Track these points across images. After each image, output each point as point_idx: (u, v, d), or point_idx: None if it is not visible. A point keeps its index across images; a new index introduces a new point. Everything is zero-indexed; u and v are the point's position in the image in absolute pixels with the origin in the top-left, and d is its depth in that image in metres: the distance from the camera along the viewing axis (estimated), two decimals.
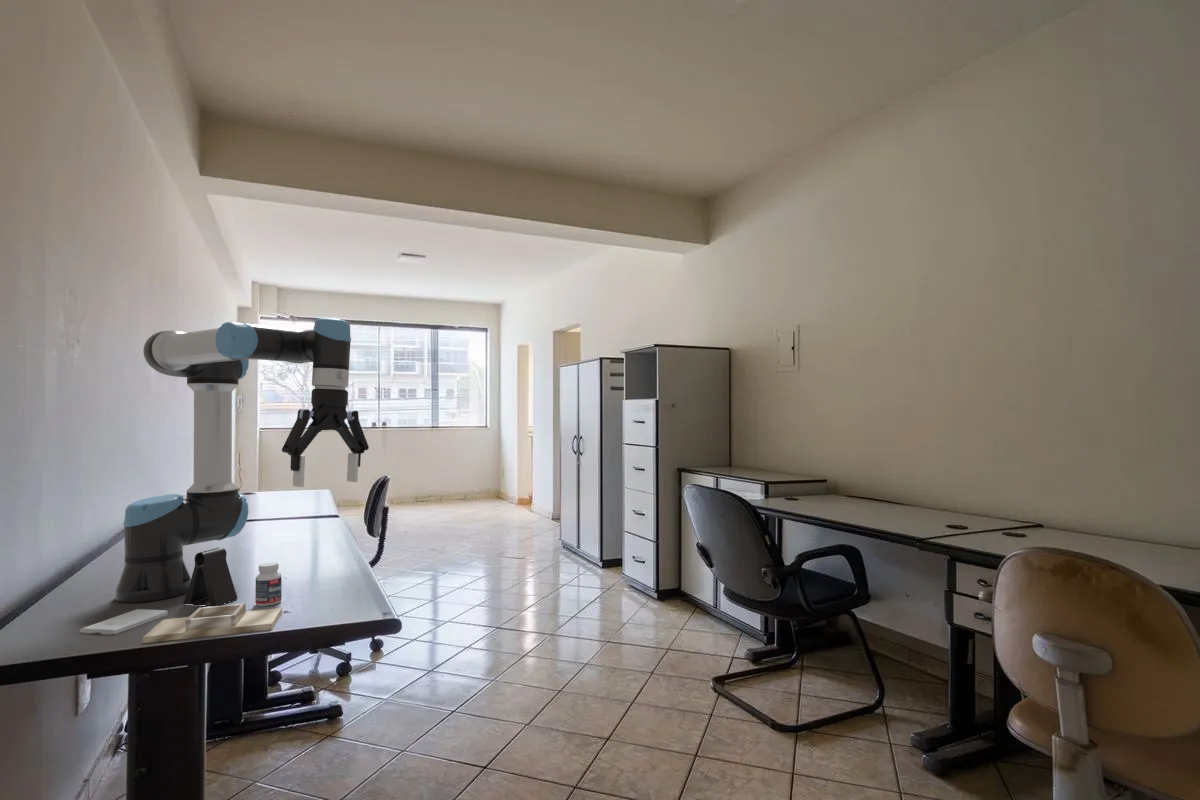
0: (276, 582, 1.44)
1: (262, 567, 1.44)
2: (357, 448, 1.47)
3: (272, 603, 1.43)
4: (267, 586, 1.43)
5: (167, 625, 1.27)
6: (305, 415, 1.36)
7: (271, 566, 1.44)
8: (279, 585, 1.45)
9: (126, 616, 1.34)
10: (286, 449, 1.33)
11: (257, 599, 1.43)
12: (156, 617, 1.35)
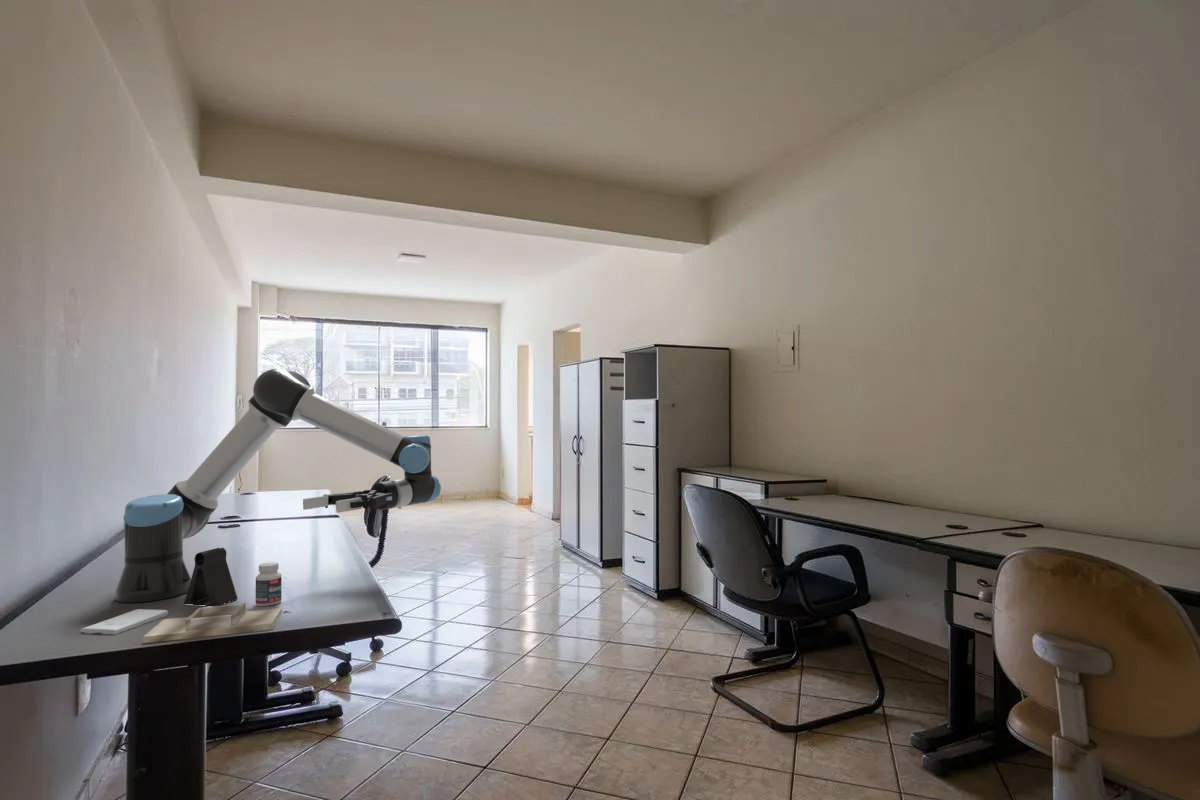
0: (276, 582, 1.44)
1: (262, 567, 1.44)
2: (331, 504, 1.67)
3: (272, 603, 1.43)
4: (267, 586, 1.43)
5: (167, 625, 1.27)
6: (388, 503, 1.66)
7: (271, 566, 1.44)
8: (279, 585, 1.45)
9: (126, 616, 1.34)
10: (373, 504, 1.58)
11: (257, 599, 1.43)
12: (156, 617, 1.35)
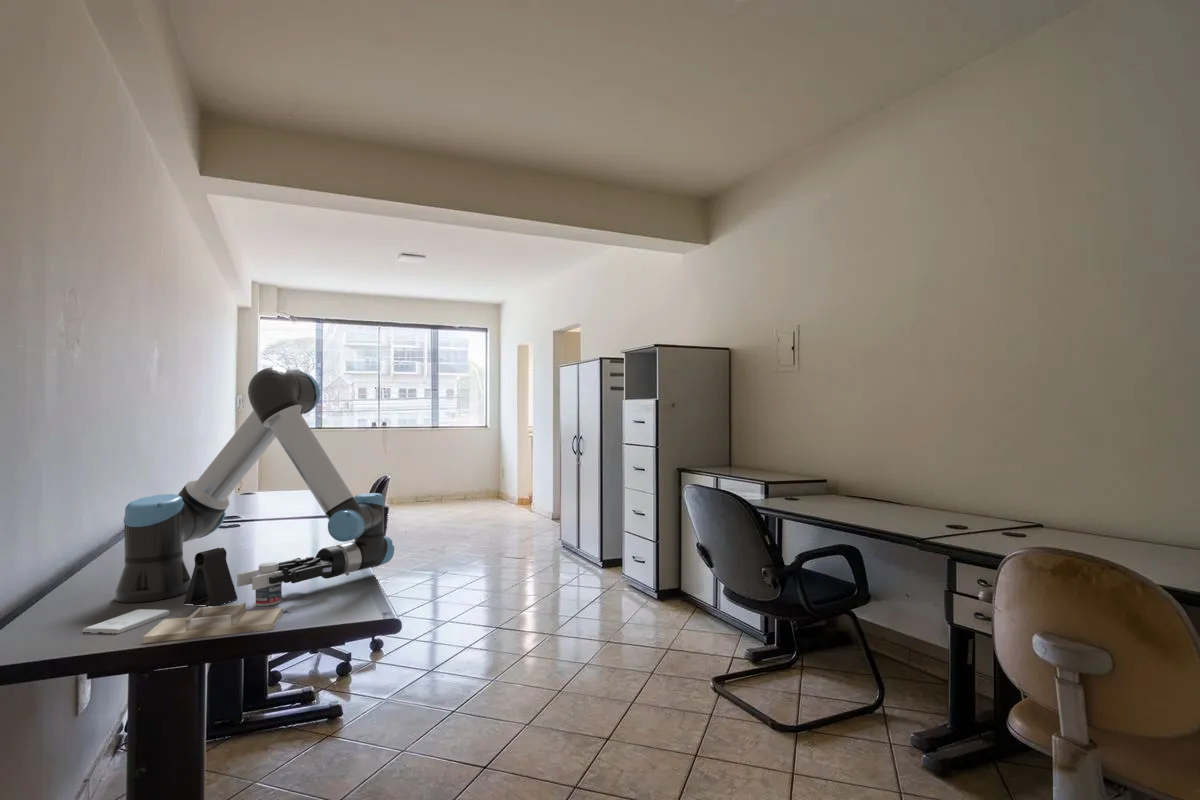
0: None
1: (262, 567, 1.44)
2: None
3: (272, 603, 1.43)
4: None
5: (167, 625, 1.27)
6: None
7: (271, 566, 1.44)
8: (279, 585, 1.45)
9: (128, 616, 1.35)
10: (295, 578, 1.44)
11: (257, 599, 1.43)
12: (158, 617, 1.35)
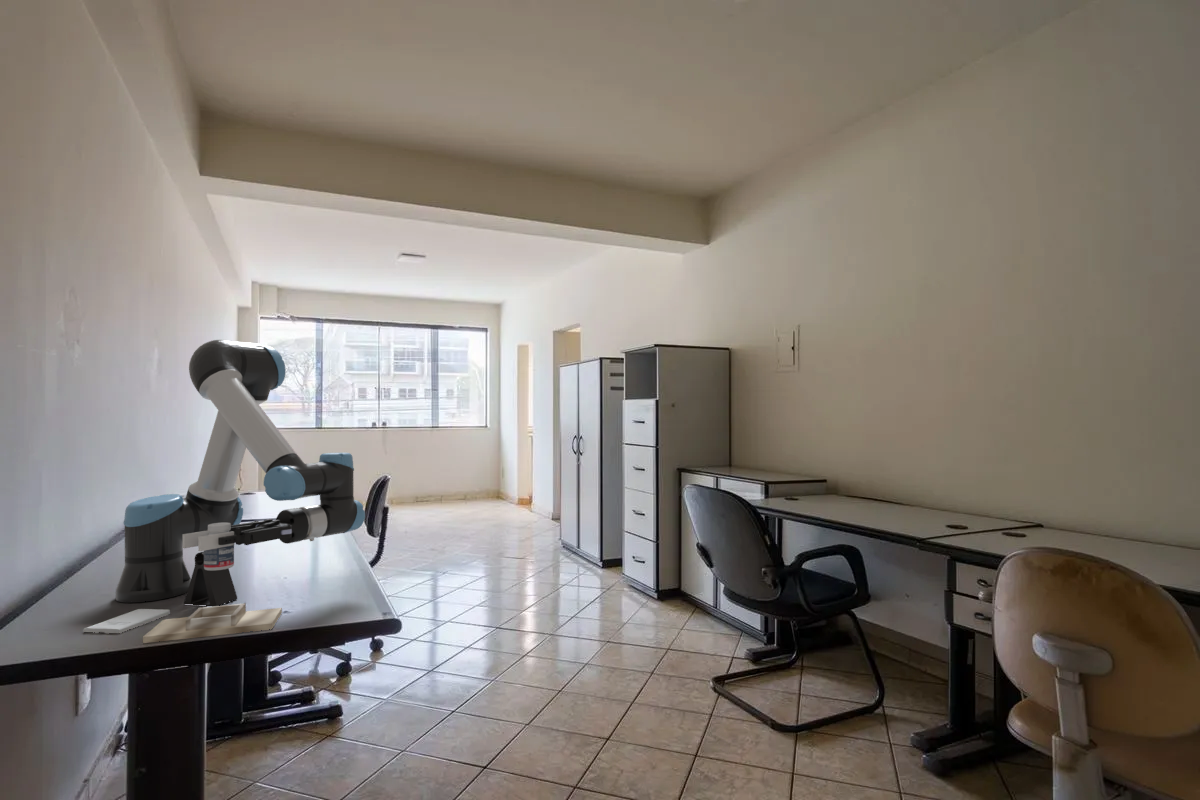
0: None
1: (211, 527, 1.28)
2: None
3: (222, 567, 1.28)
4: (217, 548, 1.27)
5: (167, 625, 1.27)
6: (285, 537, 1.35)
7: (222, 526, 1.28)
8: (231, 547, 1.29)
9: (128, 616, 1.35)
10: (249, 540, 1.29)
11: (205, 562, 1.27)
12: (159, 616, 1.36)
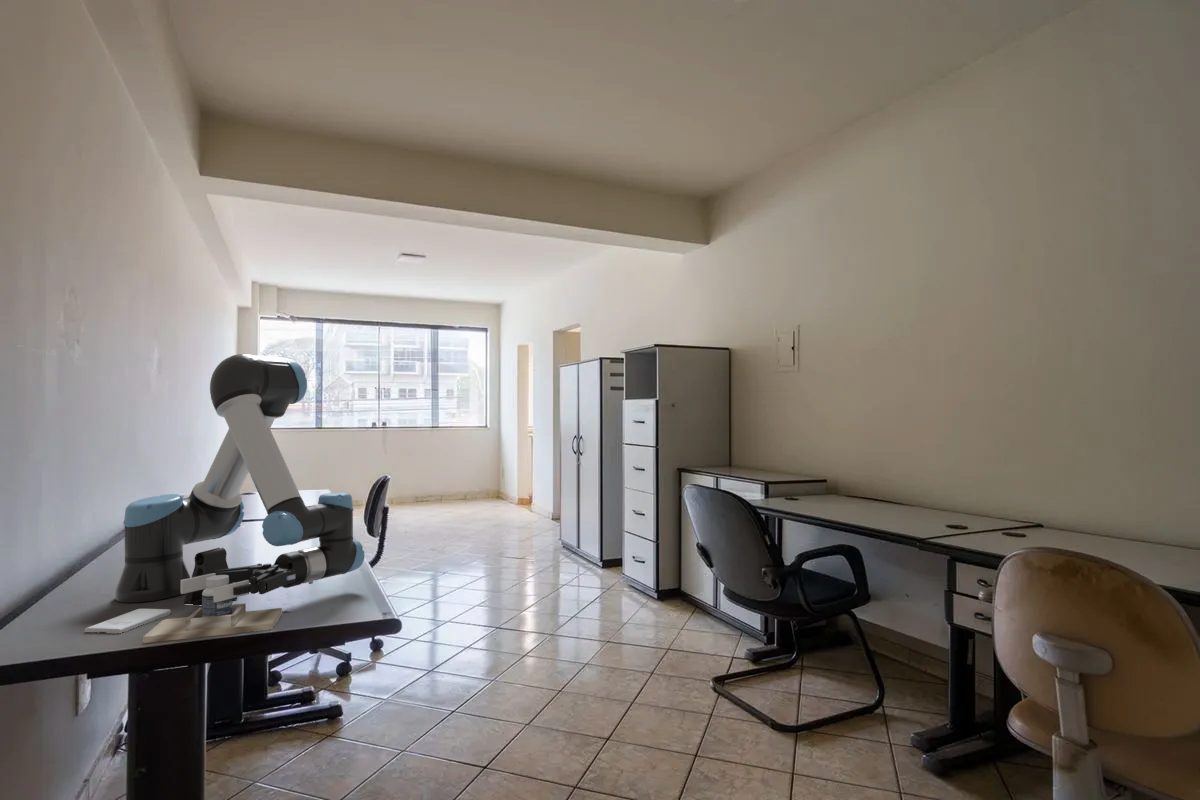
0: None
1: (209, 581, 1.27)
2: None
3: None
4: (215, 602, 1.27)
5: (167, 625, 1.27)
6: None
7: (220, 579, 1.28)
8: (229, 601, 1.29)
9: (129, 615, 1.35)
10: (264, 589, 1.28)
11: None
12: (160, 616, 1.36)
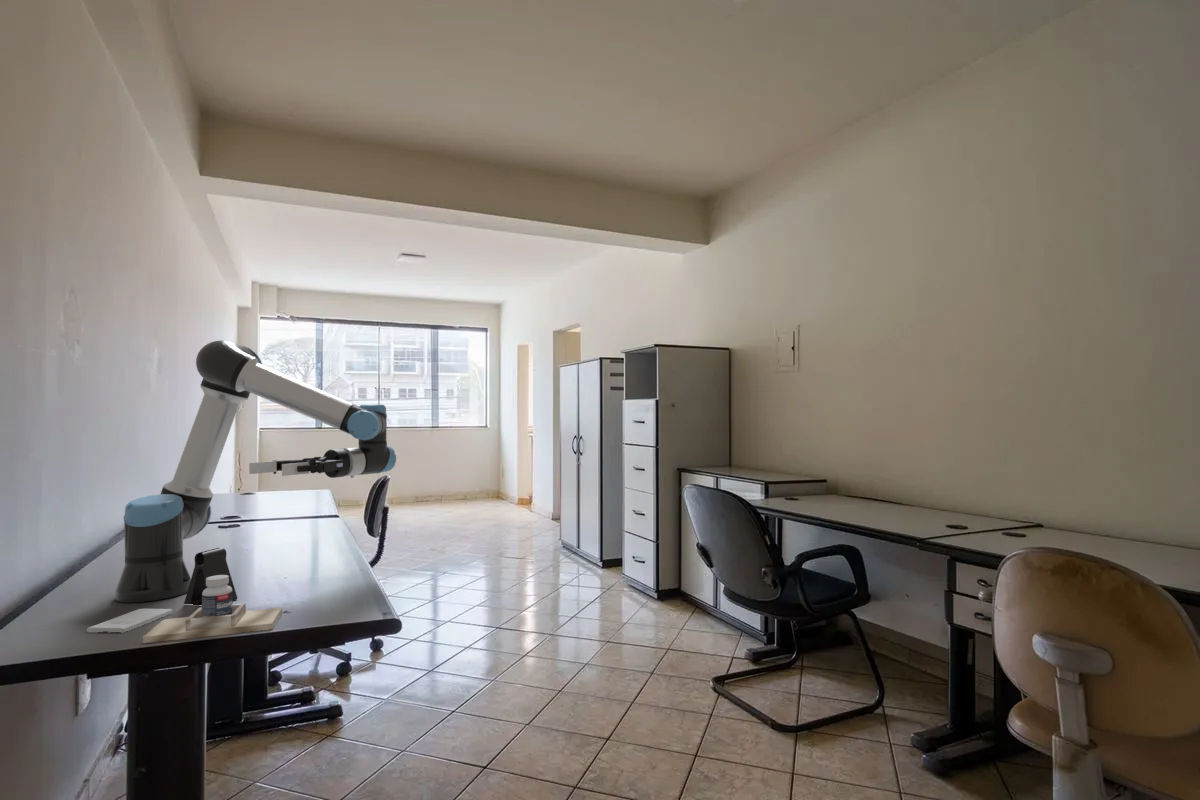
0: (225, 598, 1.28)
1: (209, 581, 1.27)
2: (279, 470, 1.63)
3: None
4: (215, 602, 1.27)
5: (167, 625, 1.27)
6: (338, 469, 1.62)
7: (220, 579, 1.28)
8: (229, 601, 1.29)
9: (131, 615, 1.35)
10: (321, 469, 1.54)
11: None
12: (161, 616, 1.36)
